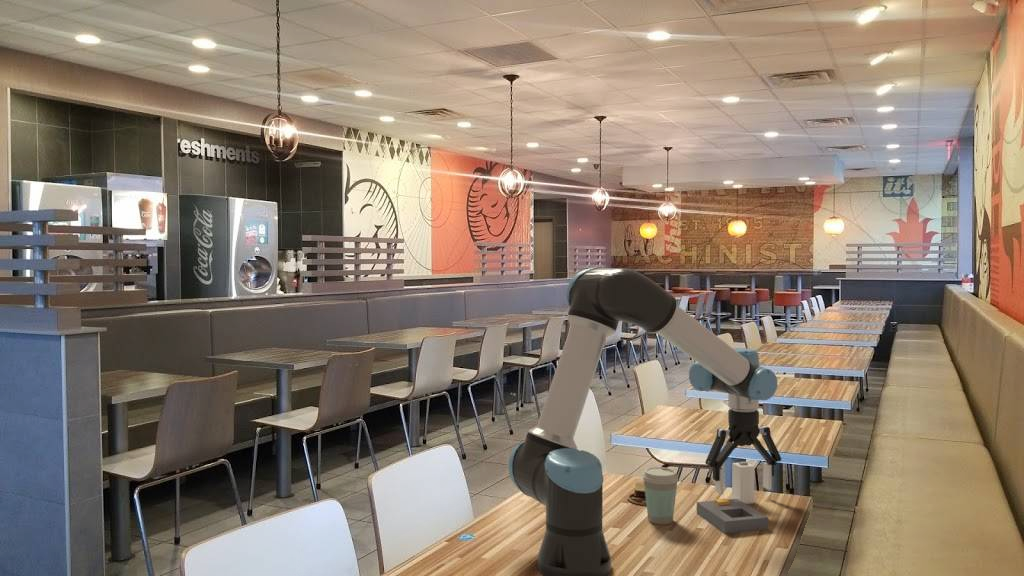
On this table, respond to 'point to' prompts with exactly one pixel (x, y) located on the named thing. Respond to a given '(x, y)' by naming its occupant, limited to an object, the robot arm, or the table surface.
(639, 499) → the toy sandwich meal
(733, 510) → the grey charger dock
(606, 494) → the table surface
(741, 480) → the block
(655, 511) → the coffee cup
